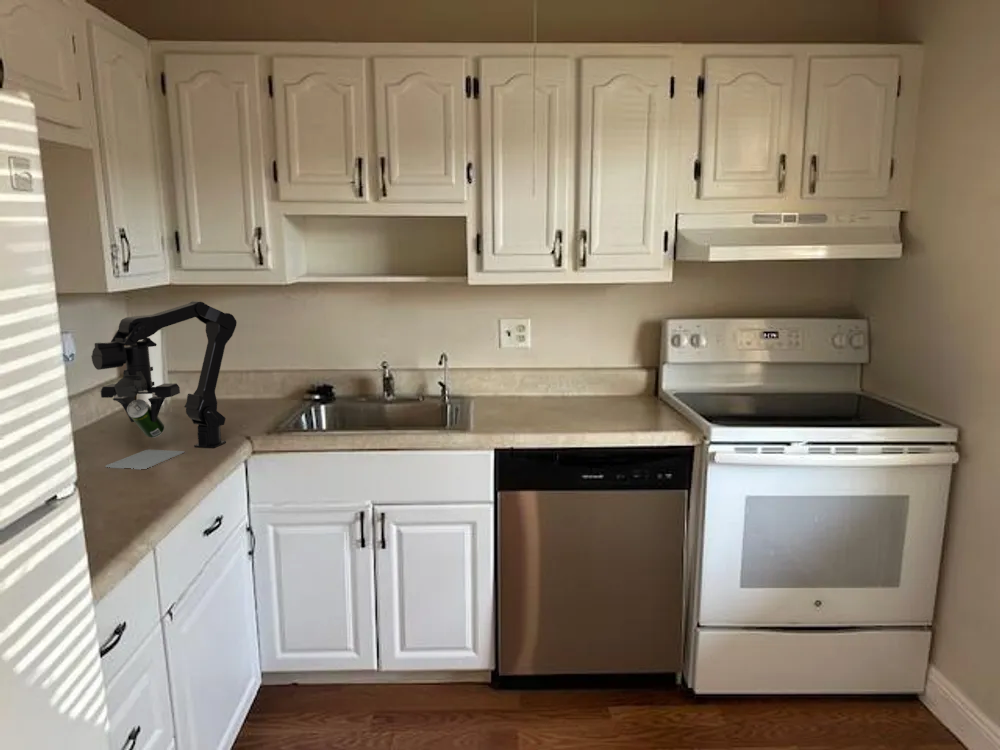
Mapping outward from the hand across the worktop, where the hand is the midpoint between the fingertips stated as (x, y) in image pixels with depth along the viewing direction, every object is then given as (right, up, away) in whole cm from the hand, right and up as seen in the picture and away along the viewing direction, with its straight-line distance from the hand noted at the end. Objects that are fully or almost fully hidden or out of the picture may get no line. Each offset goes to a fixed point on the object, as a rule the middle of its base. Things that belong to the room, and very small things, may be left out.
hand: (143, 421), depth 187 cm
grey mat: (0, -11, +2) cm, 11 cm away
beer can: (0, -3, +6) cm, 7 cm away
